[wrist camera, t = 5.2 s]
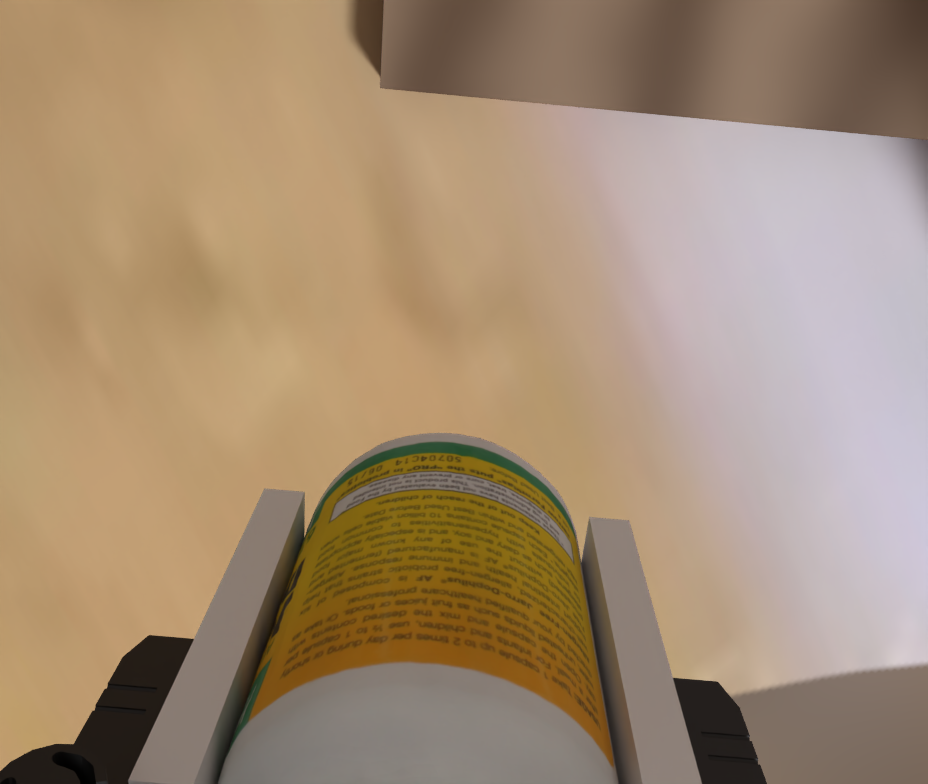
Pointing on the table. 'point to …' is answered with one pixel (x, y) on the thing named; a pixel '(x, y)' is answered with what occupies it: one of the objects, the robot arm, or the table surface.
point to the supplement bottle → (430, 632)
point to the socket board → (675, 58)
